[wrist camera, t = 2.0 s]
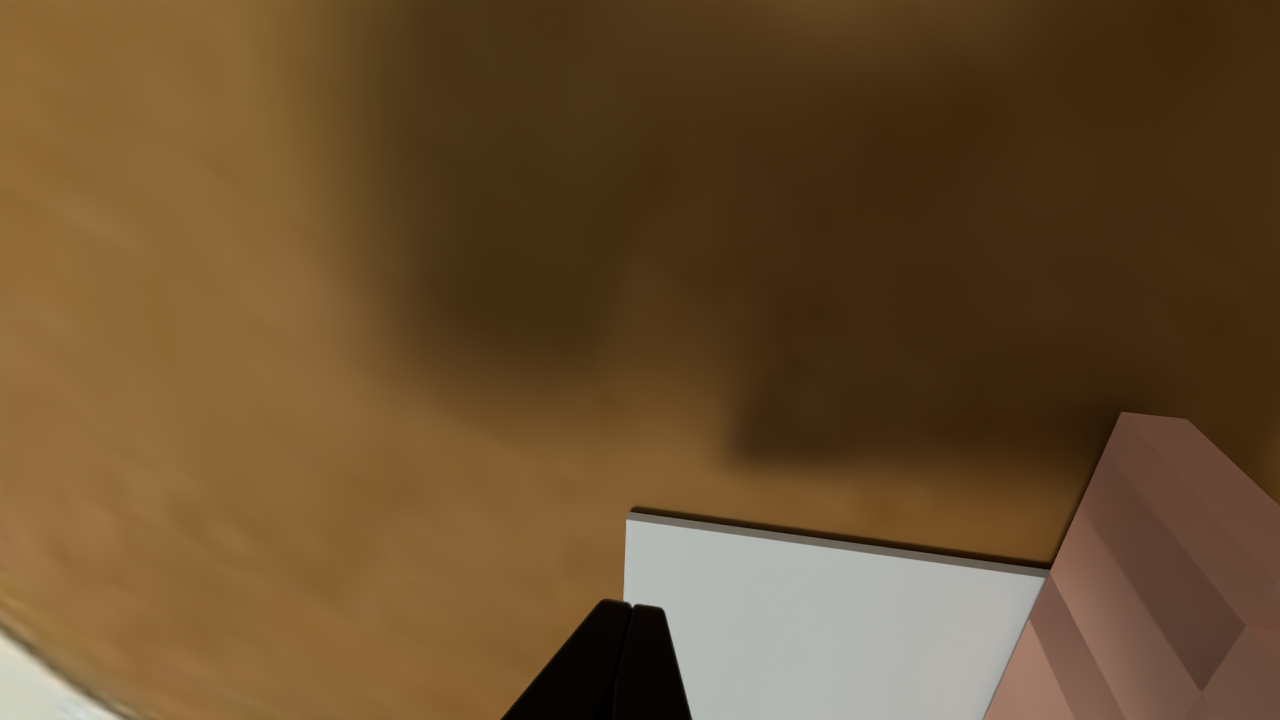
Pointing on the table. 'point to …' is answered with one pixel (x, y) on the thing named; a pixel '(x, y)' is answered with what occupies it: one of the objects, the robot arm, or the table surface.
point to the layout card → (826, 622)
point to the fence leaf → (1156, 592)
